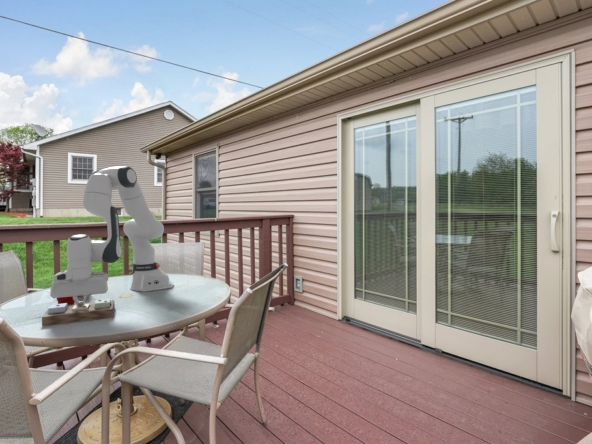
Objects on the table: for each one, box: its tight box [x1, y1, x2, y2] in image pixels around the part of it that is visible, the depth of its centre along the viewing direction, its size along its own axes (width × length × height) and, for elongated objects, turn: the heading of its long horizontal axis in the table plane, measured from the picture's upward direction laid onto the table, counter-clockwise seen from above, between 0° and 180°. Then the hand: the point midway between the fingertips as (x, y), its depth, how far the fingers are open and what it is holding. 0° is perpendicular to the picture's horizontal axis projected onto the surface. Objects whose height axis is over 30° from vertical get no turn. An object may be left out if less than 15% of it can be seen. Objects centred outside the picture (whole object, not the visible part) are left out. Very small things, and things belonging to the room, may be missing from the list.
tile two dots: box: [94, 298, 112, 308], centre depth 143 cm, size 6×6×3 cm
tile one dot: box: [47, 303, 67, 314], centre depth 136 cm, size 6×6×3 cm
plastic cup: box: [51, 280, 76, 305], centre depth 152 cm, size 11×11×12 cm
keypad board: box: [41, 299, 116, 327], centre depth 140 cm, size 24×14×4 cm, turn 116°
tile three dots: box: [72, 304, 90, 311], centre depth 140 cm, size 6×6×3 cm
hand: (80, 305), depth 140 cm, fingers closed, pressing on tile three dots
